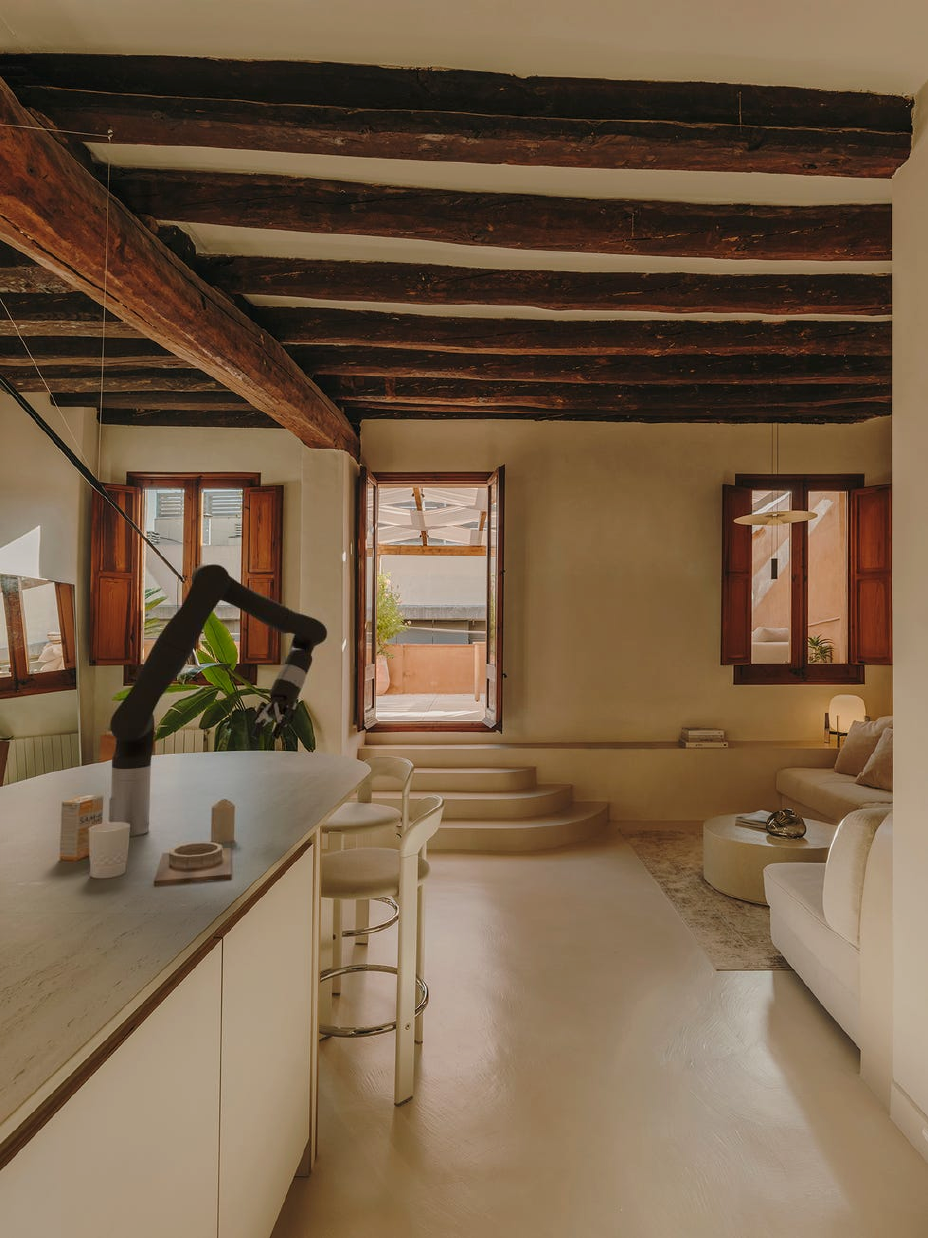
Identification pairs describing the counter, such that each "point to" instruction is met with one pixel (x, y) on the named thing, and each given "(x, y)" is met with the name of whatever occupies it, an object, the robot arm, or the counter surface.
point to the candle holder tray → (194, 864)
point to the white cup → (108, 849)
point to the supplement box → (78, 825)
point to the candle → (222, 822)
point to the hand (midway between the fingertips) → (264, 737)
